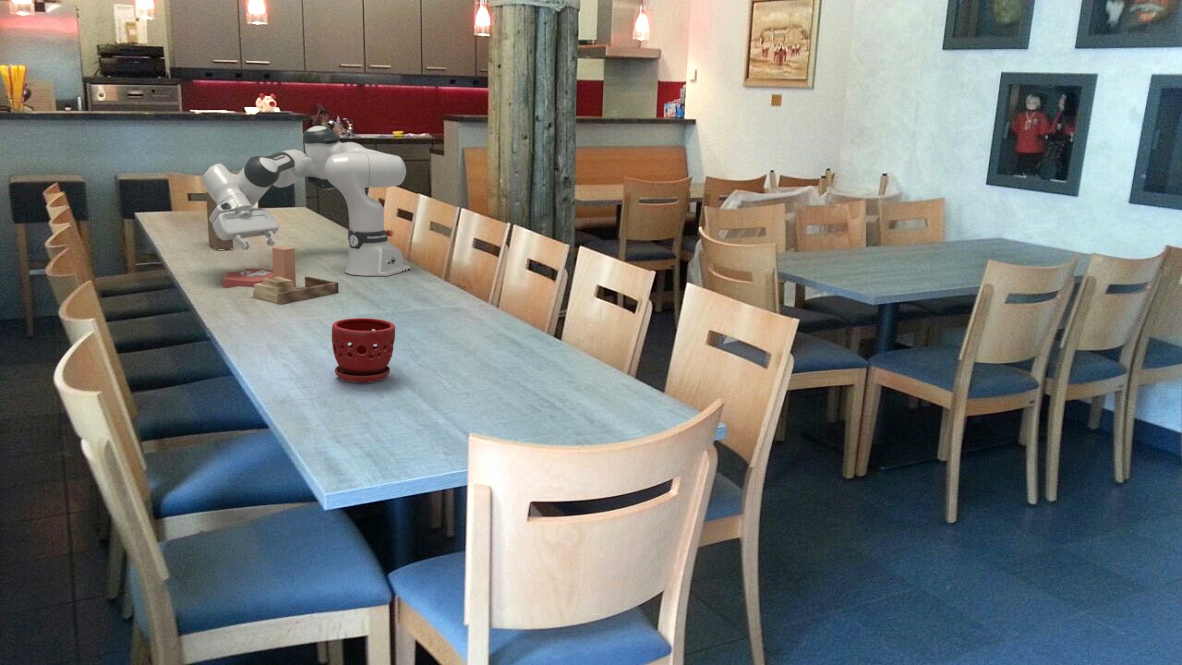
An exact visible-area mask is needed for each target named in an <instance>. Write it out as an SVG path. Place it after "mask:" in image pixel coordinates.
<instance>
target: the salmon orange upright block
mask: <svg viewBox="0 0 1182 665" xmlns="http://www.w3.org/2000/svg"><path fill="white" fill-rule="evenodd" d="M271 249H272V251H271V252H272V270H273V277H282V278H285V279H289V280H292V285H294V288H297V283H296V281H297V278H296V251H295V250H296V248H295V247H290V246H284V245H282V246H274V247H272V248H271Z"/></svg>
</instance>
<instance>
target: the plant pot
mask: <svg viewBox="0 0 1182 665" xmlns="http://www.w3.org/2000/svg"><path fill="white" fill-rule="evenodd" d="M395 340H396V326H395V324H394V323H393V322H390V321H387V320H383V319H378V318H367V317H365V318H363V317H361V318H359V317H357V318H345V319H340V320H336V321H335V322H333V323H332V326H331V344H332V351H333V355H334V358H335V361H336V363H337V366H336V367H335V369H334V372H335V375H336V376H337V377H338V378H339V379H341V380H342V381H345V382H348V383H350V382H352V383H356V384H358V383H359V384H365V383H375V382H378V381H381V380H384V379H385V378H386V377H388V375H389V374H390V372H391V368H390V367H389V366H388V365H389V364H390V361H391V360H392V359H391V358H392V356H393V353H394V344H395ZM349 344H350V345H349Z"/></svg>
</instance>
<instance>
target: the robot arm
mask: <svg viewBox="0 0 1182 665" xmlns="http://www.w3.org/2000/svg"><path fill="white" fill-rule="evenodd" d="M340 138H341V136H340V135H339V134H336V132H335V131H334V130H333V129H331V128H329V126H324V125H314V126H312V127H309V128H307V129H306V130H305V131H304V132H303V138H302V139H303V142H302V143H303V144H304V150H305V153H304V152H303V151H301V150H299V149H295V148H292V149H286V150H283V151H279V152H276V153H273V154H270V155H266V156H264V155H253V156H251V157H250V158H249V159H248V161H247V162H246V163H245V165H244V167H242V168H241V170H240V171H239V172H238V174H234V173H232V172H230V171H229V170H228V169H227V168H226V166H225V165H224V164H222V163H215V164H212V165H211V166H209V167H208V168H207V169H206V170H205V171H204V173H203V174H202V176H201V179H202V183H203V185H204V188H205V190H206V192H207V191H208V193H209V195H210V196H211V198H212V199H213V200H214V201H215V202H216V203H217V207H216V208H215V210H214V211H213V212H212V214H211V216H210V218H209V220H210V222H211V223H213V228H214V230H215V232H216V234H217V235H218V237H219V238H220V239H222V240H224V241H225V240H232V239H233V243H235V244H237V245H238V246H240V247H241V249H242V250H243V251H244V250H249V249H250V244H249V242H248V241H245V240H244V239H246V238H256V237H261V236H265V238H267V240H266V244H267V245H268V247H272V246H275V244H276V241H275V239H274V234H277V231H279V229H280V224H279V223H278V221H277V220H276V218H275V217H274V216H273V215H272V214H271V212H270V211H268V210H267V209H265V208H262V207H257V208H255V207H254V206H255V205H257V203H258V202H259V201H260V200H261V198H262V197H263V196H264V195H265V194H266V192H268V190H269V189H270V188H271V187H273V186H274V187H276V188H280V189H281V188H285V187H286V188H287V187H290V186H291V185H293V184H295V183H296V182H298V181H300V180H301V179H303V178H306V182H307V183H309V184H311V185H312V186H313V187H316V188H317V189H319V190H325V191H328V190H329V191H331V190H333V189H337V190H338V191H339V192H340V193H341V195H342V196H343V198H344V199H345V203H346V206H347V211H348V221H349V222H348V225H349V227H348V230H347V240H348V244H349V245H348V248H347V249H348V251H347V261H346V265H345V270H344V272H345V273H346V274H349V275H353V276H365V277H366V276H370V277H371V276H373V277H375V276H378V277H388V276H389V277H390V276H393V275H395V274H399V273H403V272H406V271H409V270H408V269H410V270H411V269H412V268H411V266H410V265H408V264H405V263H404V256H403V252H402V251H401V250H400V249H399V248H398V247H397V246H395V245H394V244H393V243H392V242H390V241H389V237H393V236H394V231H393V230H389V229H387V230H385V214H384V213H385V212H384V211H385V209H384V207H383V204H382V203H381V202H380V201H378V200H377V199H374V198H372V197H370V196H368V195H367V194H366V189H365V188H373V189H374V188H379V189H380V188H390V187H396V186H400V185H401V184H402V183H403V182H404V180H405V177H406V175H407V169H406V164H405V162H404V160H403V158H402V157H401V156H399V155H394V154H390V153H385V152H381V151H378V150H373V149H370V148H366V147H364V146H363V145H361V144H360V143H358V142H353V141H347V142H341V141H340ZM253 207H254V208H253ZM405 270H406V271H405ZM402 271H403V272H402Z"/></svg>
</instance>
